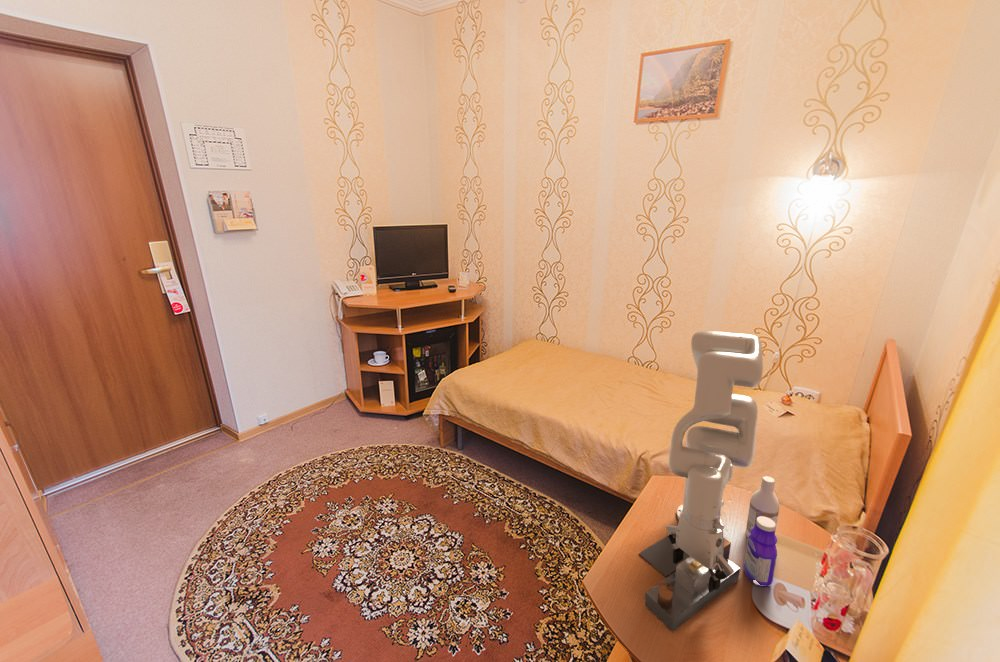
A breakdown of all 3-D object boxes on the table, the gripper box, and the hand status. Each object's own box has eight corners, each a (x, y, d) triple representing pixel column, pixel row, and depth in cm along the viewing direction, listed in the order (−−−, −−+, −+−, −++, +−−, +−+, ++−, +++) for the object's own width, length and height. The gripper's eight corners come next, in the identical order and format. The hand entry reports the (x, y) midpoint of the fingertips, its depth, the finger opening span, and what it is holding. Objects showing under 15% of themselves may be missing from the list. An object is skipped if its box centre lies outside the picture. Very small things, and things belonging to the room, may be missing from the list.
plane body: (709, 559, 113) (713, 529, 110) (738, 580, 106) (743, 549, 103) (644, 605, 100) (646, 573, 98) (672, 632, 94) (675, 598, 91)
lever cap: (695, 565, 106) (697, 549, 105) (713, 579, 102) (715, 563, 101) (675, 580, 102) (676, 563, 101) (692, 595, 98) (694, 578, 97)
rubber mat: (667, 537, 121) (667, 535, 121) (694, 557, 113) (694, 556, 113) (639, 554, 115) (639, 553, 115) (665, 577, 108) (665, 575, 108)
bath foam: (758, 549, 115) (768, 489, 110) (739, 531, 122) (748, 473, 116) (779, 544, 117) (790, 484, 111) (759, 527, 123) (768, 469, 118)
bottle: (739, 564, 111) (747, 511, 106) (761, 566, 110) (770, 512, 105) (752, 588, 104) (761, 532, 99) (776, 589, 103) (786, 533, 98)
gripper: (747, 532, 91) (738, 593, 96) (679, 491, 106) (674, 545, 110) (727, 546, 88) (718, 609, 92) (660, 501, 102) (655, 557, 107)
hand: (694, 574), depth 101 cm, fingers open, 9 cm apart
